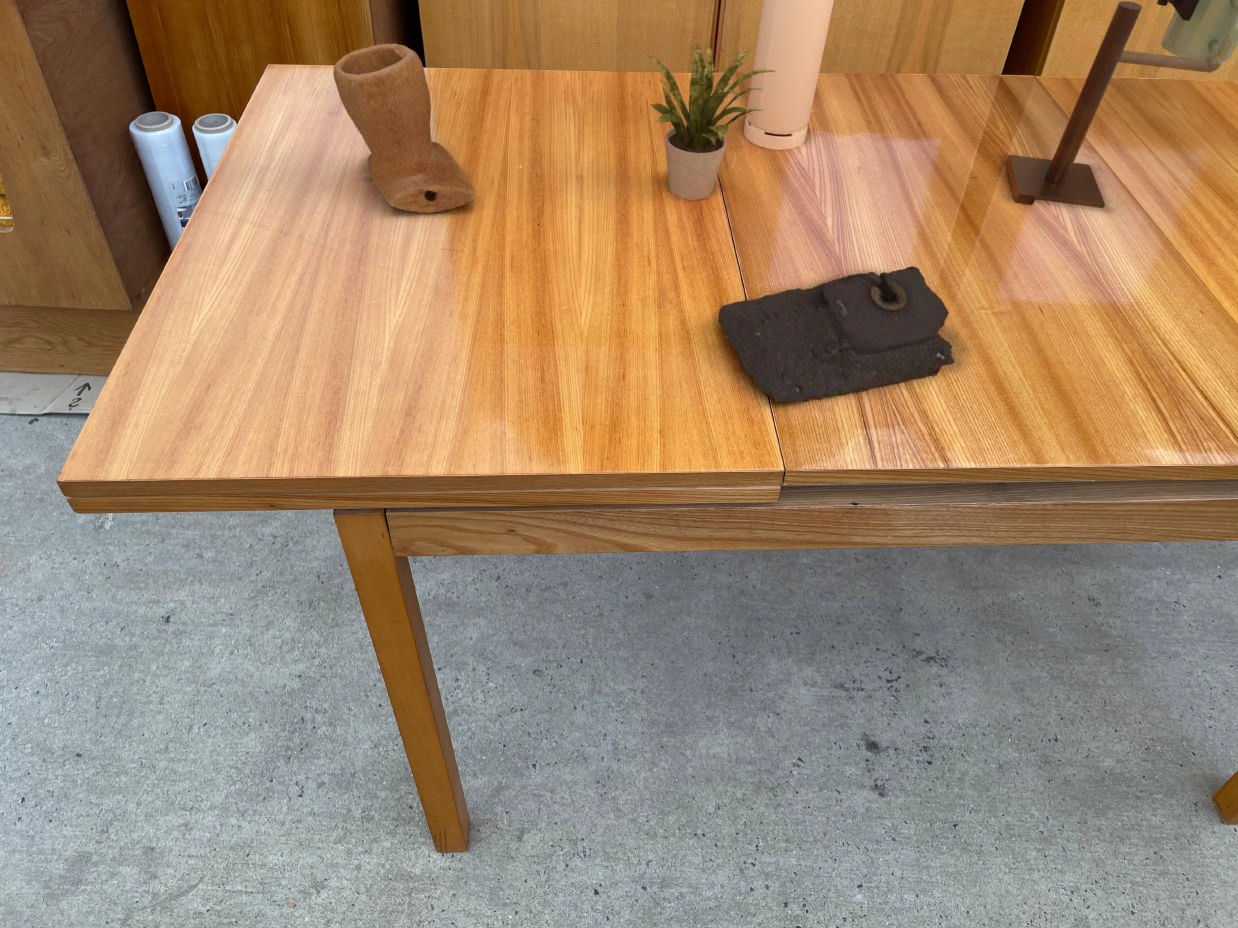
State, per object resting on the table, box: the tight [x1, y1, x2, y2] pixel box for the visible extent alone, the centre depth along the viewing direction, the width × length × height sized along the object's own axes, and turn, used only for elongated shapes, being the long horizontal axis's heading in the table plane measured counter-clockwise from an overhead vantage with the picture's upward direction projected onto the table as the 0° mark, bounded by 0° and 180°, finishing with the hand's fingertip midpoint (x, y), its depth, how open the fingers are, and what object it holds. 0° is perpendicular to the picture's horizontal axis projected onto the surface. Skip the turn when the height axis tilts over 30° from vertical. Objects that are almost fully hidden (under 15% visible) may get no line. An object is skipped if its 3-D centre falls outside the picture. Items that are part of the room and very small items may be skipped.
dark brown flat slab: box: [717, 266, 956, 403], centre depth 85 cm, size 15×22×5 cm
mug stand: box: [1005, 0, 1222, 209], centre depth 102 cm, size 17×10×21 cm, turn 80°
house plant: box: [646, 39, 779, 201], centre depth 99 cm, size 14×14×16 cm
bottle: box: [743, 0, 835, 151], centre depth 106 cm, size 8×8×28 cm
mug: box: [1160, 0, 1238, 63], centre depth 108 cm, size 12×8×9 cm
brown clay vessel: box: [332, 43, 477, 214], centre depth 97 cm, size 15×12×15 cm
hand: (1231, 13), depth 105 cm, fingers closed on mug, 8 cm apart
